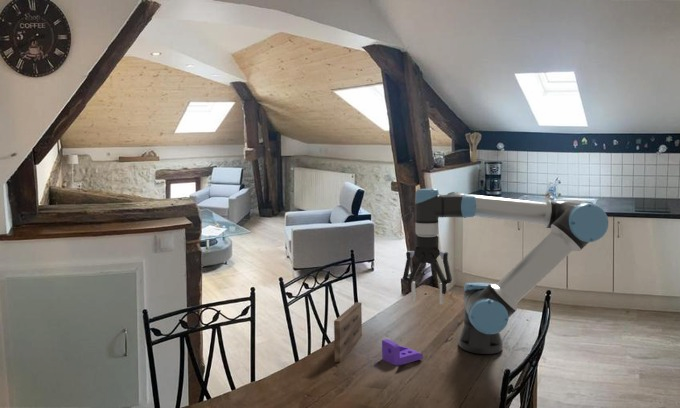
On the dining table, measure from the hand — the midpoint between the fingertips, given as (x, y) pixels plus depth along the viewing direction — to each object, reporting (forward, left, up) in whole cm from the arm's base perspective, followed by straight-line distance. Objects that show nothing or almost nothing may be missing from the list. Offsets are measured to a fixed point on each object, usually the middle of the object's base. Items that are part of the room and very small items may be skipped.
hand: (427, 302), depth 166 cm
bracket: (+8, +2, -20) cm, 22 cm away
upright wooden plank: (+28, 0, -19) cm, 34 cm away
